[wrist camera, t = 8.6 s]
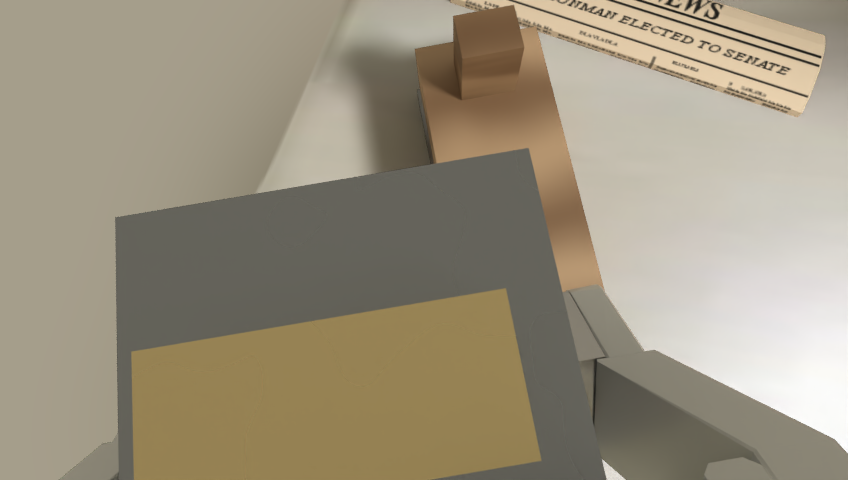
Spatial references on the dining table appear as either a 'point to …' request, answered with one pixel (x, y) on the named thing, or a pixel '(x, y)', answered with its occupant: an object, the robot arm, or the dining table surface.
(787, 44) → the newspaper
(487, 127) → the plane body
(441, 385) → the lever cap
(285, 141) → the dining table surface
